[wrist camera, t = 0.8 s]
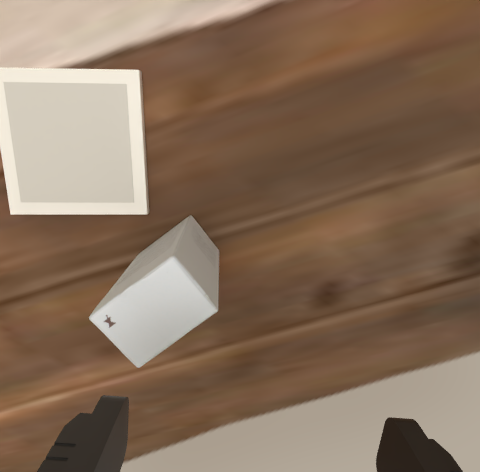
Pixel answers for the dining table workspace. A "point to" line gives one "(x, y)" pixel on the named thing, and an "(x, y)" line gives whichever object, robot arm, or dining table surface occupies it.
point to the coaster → (73, 141)
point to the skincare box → (162, 293)
